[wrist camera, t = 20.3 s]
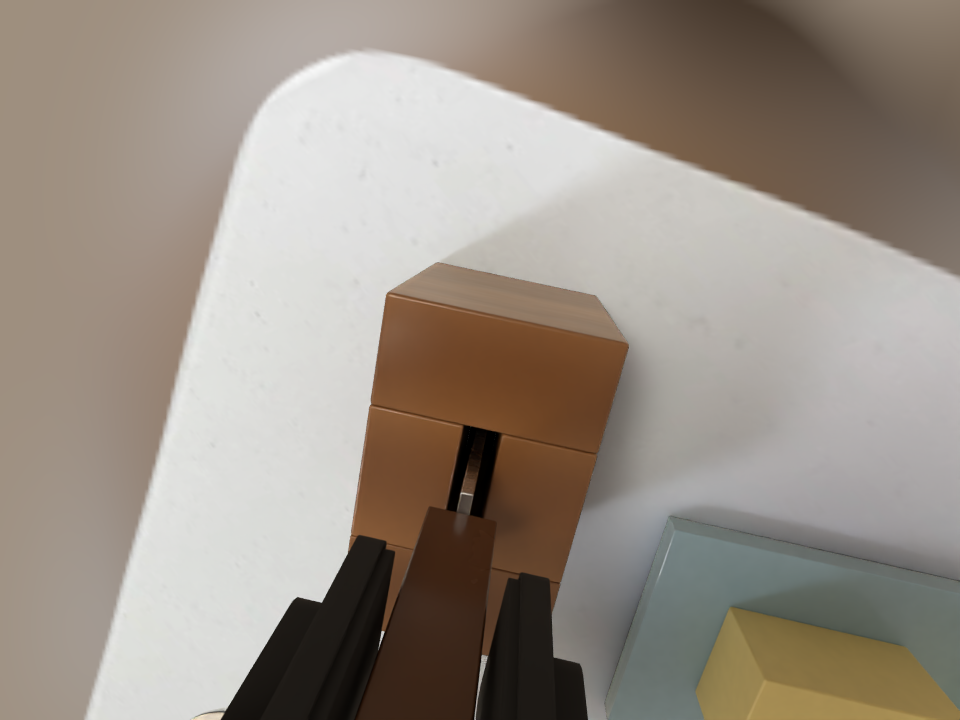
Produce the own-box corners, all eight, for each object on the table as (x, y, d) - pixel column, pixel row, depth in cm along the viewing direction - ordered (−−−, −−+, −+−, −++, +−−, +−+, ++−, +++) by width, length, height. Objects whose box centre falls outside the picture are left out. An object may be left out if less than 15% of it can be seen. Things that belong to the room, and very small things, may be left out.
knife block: (435, 261, 20) (385, 291, 13) (597, 295, 20) (631, 344, 13) (395, 497, 23) (337, 620, 16) (535, 529, 22) (536, 668, 16)
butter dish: (668, 515, 22) (675, 529, 21) (1073, 606, 21) (1098, 625, 20) (604, 702, 25) (607, 722, 24) (957, 786, 24) (975, 811, 23)
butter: (729, 605, 21) (765, 679, 18) (906, 646, 21) (976, 729, 18) (694, 691, 23) (722, 775, 19) (860, 730, 22) (918, 822, 19)
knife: (474, 368, 21) (259, 965, 4) (515, 377, 21) (447, 1014, 4) (460, 438, 22) (237, 1150, 5) (499, 447, 22) (392, 1195, 5)
